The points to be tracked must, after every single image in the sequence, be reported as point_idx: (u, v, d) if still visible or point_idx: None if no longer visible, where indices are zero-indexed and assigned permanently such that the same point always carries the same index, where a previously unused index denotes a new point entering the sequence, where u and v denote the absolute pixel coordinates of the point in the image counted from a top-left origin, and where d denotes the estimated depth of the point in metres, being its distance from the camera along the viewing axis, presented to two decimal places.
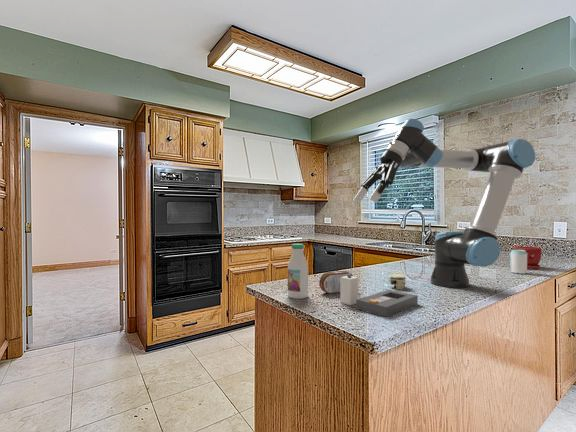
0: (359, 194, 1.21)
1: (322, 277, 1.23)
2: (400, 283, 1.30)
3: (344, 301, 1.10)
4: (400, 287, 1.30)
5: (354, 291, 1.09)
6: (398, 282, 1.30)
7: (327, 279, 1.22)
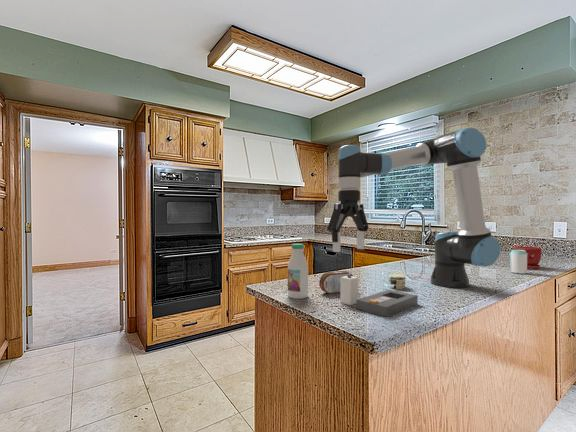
0: (358, 240, 1.15)
1: (322, 277, 1.23)
2: (400, 283, 1.30)
3: (344, 301, 1.10)
4: (400, 287, 1.30)
5: (354, 291, 1.09)
6: (398, 282, 1.30)
7: (327, 279, 1.22)
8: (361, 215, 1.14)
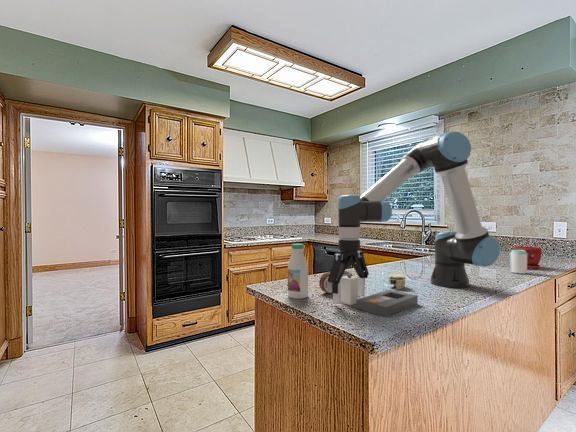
0: (358, 286, 1.15)
1: (322, 277, 1.23)
2: (399, 283, 1.30)
3: (344, 301, 1.10)
4: (399, 287, 1.30)
5: (354, 291, 1.09)
6: (397, 282, 1.30)
7: (327, 279, 1.22)
8: (361, 262, 1.15)
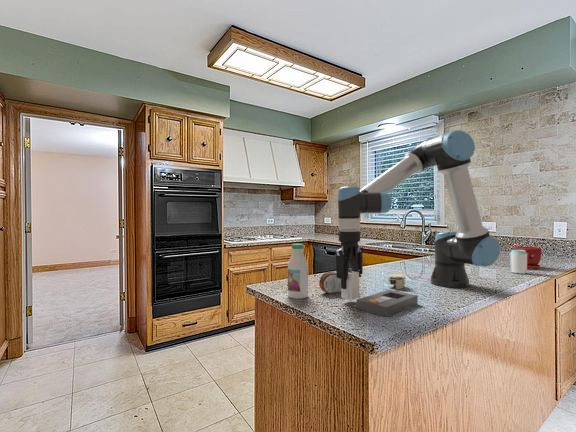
0: None
1: (322, 277, 1.23)
2: (399, 283, 1.30)
3: None
4: (399, 287, 1.30)
5: (355, 285, 1.09)
6: (397, 282, 1.30)
7: (327, 279, 1.22)
8: (358, 258, 1.13)
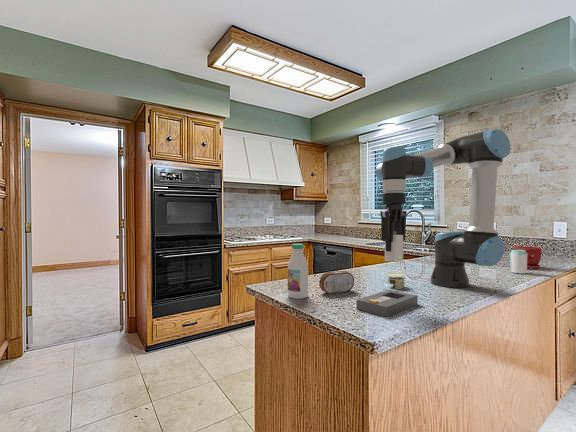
0: None
1: (322, 277, 1.23)
2: (399, 283, 1.30)
3: None
4: (399, 287, 1.30)
5: (399, 248, 1.07)
6: (397, 282, 1.30)
7: (327, 279, 1.22)
8: (402, 222, 1.11)
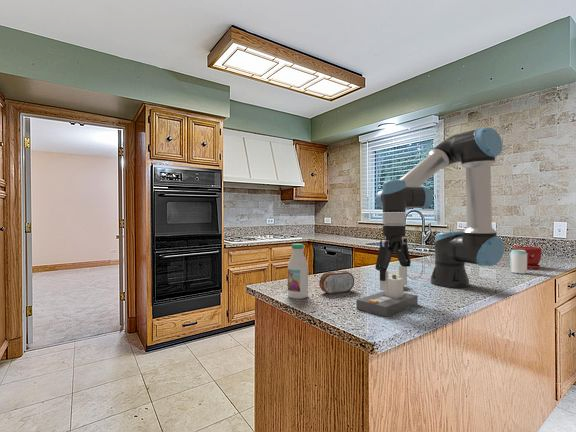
0: (400, 275, 1.13)
1: (322, 277, 1.23)
2: None
3: None
4: None
5: (400, 292, 1.07)
6: None
7: (327, 279, 1.22)
8: (404, 250, 1.12)
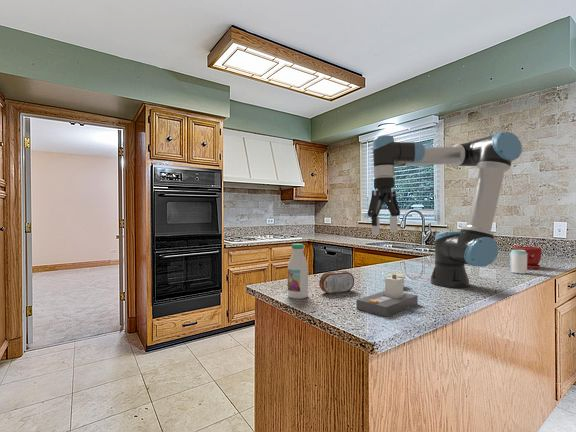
0: (391, 224, 1.24)
1: (322, 277, 1.23)
2: None
3: None
4: None
5: (400, 292, 1.07)
6: None
7: (327, 279, 1.22)
8: (394, 201, 1.23)
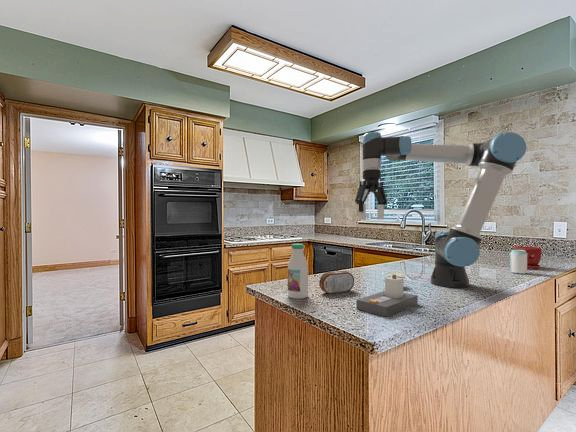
0: (378, 212, 1.38)
1: (322, 277, 1.23)
2: None
3: None
4: None
5: (400, 292, 1.07)
6: None
7: (327, 279, 1.22)
8: (381, 191, 1.37)
